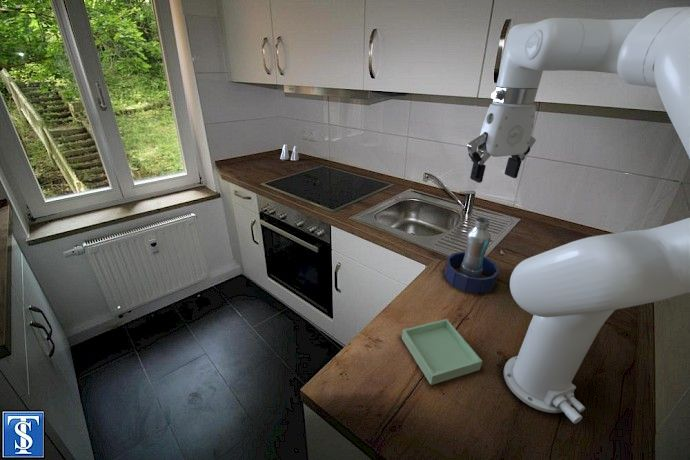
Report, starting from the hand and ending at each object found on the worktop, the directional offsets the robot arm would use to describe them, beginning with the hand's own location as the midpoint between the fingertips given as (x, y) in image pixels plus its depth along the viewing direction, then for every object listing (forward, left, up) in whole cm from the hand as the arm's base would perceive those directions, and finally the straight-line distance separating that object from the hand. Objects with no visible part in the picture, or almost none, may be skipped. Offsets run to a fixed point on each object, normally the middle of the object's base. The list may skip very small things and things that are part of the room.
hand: (493, 178), depth 71 cm
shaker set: (+157, +24, -36) cm, 163 cm away
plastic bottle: (+8, -8, -36) cm, 38 cm away
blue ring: (+8, -8, -36) cm, 38 cm away
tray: (-14, +17, -36) cm, 42 cm away
